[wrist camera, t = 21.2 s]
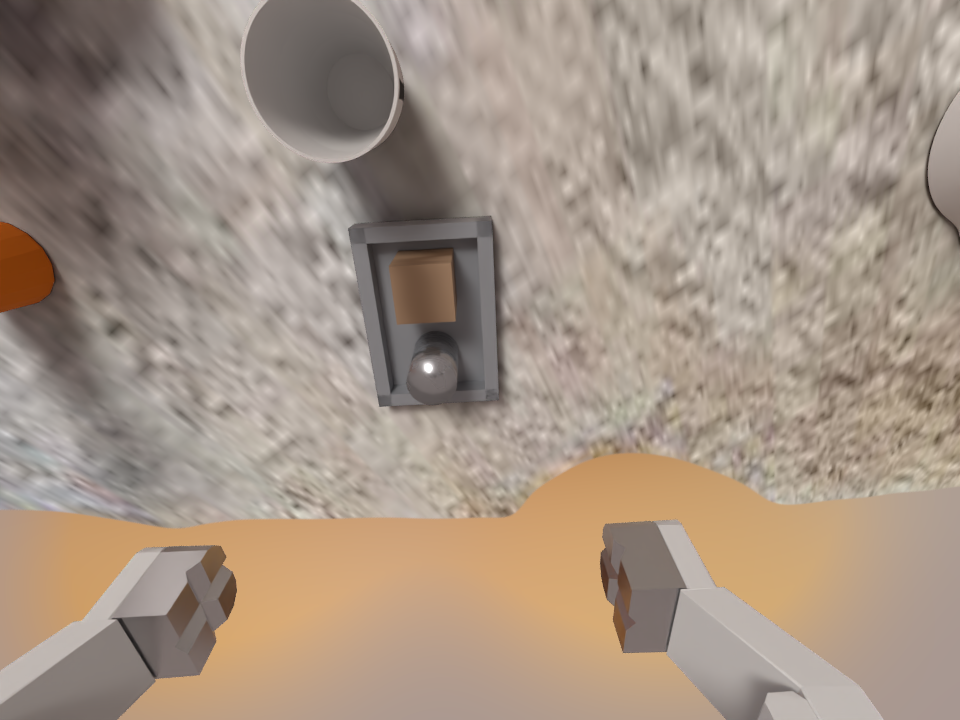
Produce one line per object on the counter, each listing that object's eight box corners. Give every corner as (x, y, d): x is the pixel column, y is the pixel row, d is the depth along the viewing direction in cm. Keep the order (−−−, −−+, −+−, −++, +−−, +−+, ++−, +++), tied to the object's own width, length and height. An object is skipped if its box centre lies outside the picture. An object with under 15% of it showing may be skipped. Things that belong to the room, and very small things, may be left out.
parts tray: (490, 215, 37) (492, 220, 35) (497, 388, 44) (498, 400, 42) (354, 223, 37) (348, 228, 35) (383, 394, 44) (379, 406, 42)
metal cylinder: (460, 369, 42) (458, 403, 37) (417, 371, 42) (409, 406, 37) (456, 329, 41) (454, 359, 35) (412, 332, 41) (403, 362, 35)
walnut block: (453, 247, 37) (451, 263, 33) (457, 300, 39) (455, 321, 35) (398, 250, 37) (388, 266, 33) (405, 303, 39) (396, 324, 35)
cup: (437, 120, 34) (426, 116, 25) (346, 175, 35) (304, 189, 26) (377, -1, 30) (339, -58, 21) (279, 64, 32) (205, 37, 23)
